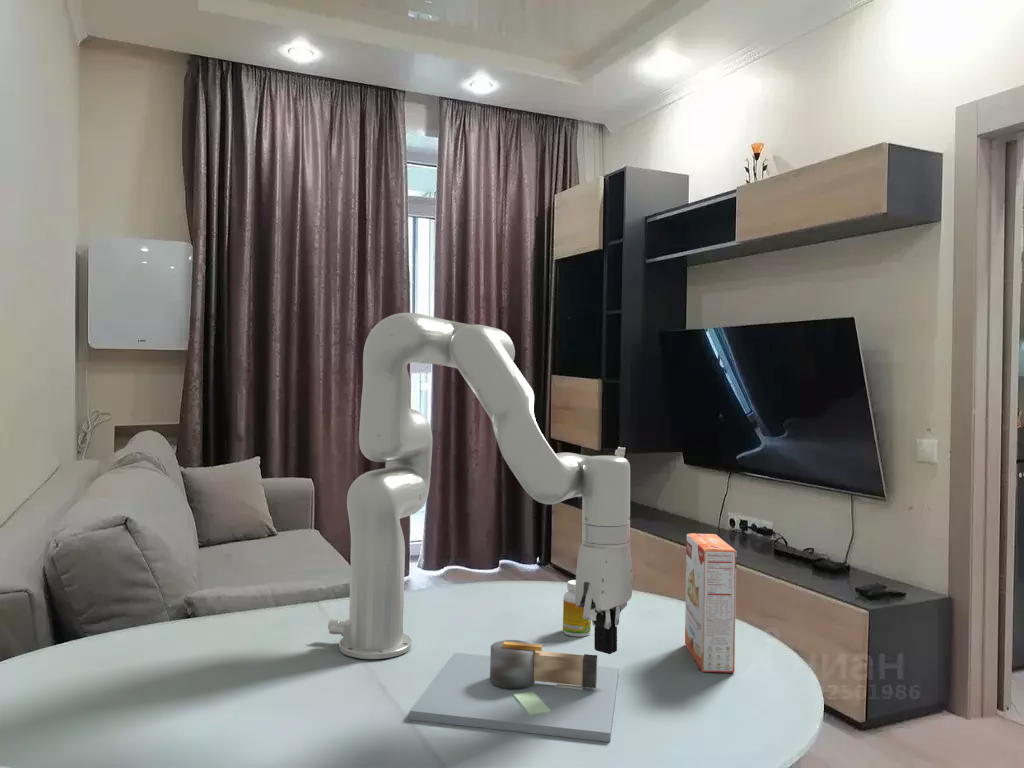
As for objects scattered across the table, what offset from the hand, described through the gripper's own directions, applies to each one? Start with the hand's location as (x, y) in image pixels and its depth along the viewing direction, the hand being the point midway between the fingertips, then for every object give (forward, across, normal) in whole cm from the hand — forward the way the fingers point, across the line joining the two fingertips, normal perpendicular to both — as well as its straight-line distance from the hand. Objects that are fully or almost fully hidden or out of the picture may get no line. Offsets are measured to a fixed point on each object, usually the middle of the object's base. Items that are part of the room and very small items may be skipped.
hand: (605, 650), depth 119 cm
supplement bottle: (+6, -19, -19) cm, 27 cm away
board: (+6, +11, -8) cm, 15 cm away
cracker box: (+6, -24, +6) cm, 25 cm away
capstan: (+4, +8, -6) cm, 11 cm away
